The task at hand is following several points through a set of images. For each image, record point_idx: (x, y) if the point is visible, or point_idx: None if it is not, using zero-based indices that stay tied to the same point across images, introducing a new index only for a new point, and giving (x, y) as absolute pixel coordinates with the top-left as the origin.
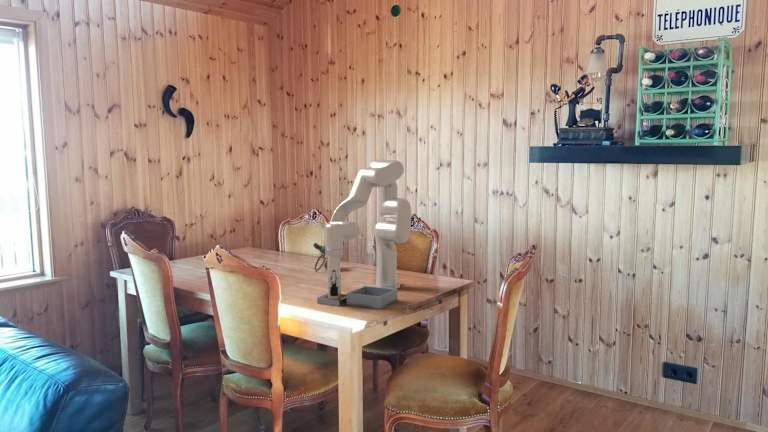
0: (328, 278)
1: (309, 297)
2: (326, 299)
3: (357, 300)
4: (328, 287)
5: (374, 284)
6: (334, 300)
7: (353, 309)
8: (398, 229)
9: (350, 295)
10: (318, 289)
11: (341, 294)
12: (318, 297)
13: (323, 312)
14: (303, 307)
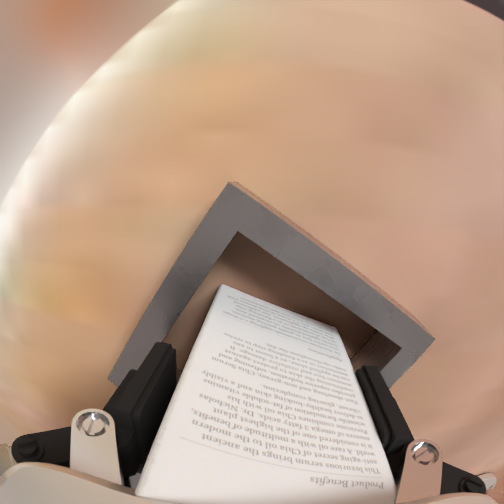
0: (3, 475)
1: (464, 139)
2: (163, 283)
3: None
4: (177, 384)
5: (487, 480)
6: (126, 348)
7: (76, 403)
8: None
9: None
10: None
11: None
12: (236, 198)
13: (6, 229)
14: (124, 69)
